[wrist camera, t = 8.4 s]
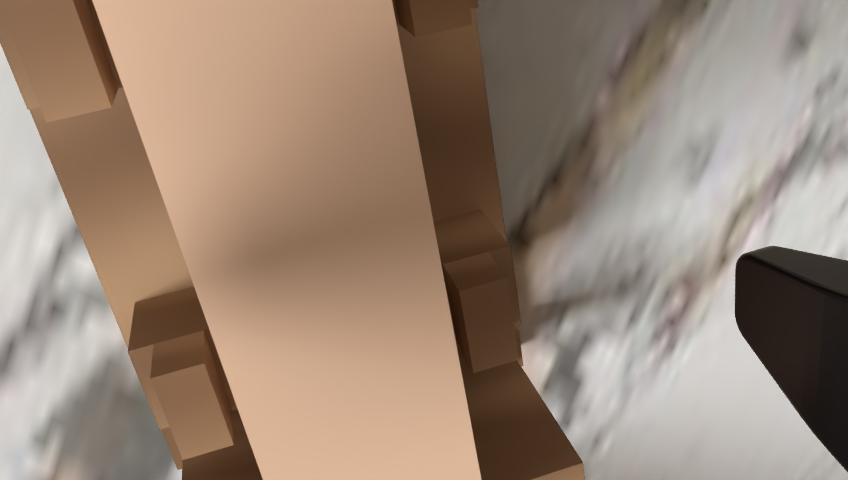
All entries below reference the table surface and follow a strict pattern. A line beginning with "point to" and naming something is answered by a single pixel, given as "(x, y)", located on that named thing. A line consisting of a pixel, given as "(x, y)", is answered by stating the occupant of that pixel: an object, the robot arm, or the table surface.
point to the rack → (168, 274)
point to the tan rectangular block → (303, 227)
